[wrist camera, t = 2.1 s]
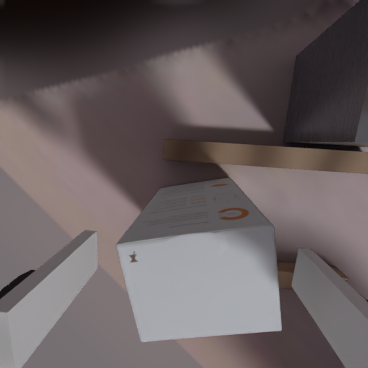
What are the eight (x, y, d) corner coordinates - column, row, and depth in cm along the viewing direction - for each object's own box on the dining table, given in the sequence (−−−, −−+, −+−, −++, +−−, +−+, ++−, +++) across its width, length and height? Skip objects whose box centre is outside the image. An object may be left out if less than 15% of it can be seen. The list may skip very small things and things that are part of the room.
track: (363, 151, 21) (379, 153, 19) (331, 282, 24) (343, 294, 22) (167, 139, 22) (163, 138, 20) (161, 265, 25) (158, 275, 23)
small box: (169, 239, 24) (137, 346, 12) (159, 187, 23) (111, 243, 10) (238, 230, 24) (285, 335, 11) (231, 176, 22) (275, 221, 10)
